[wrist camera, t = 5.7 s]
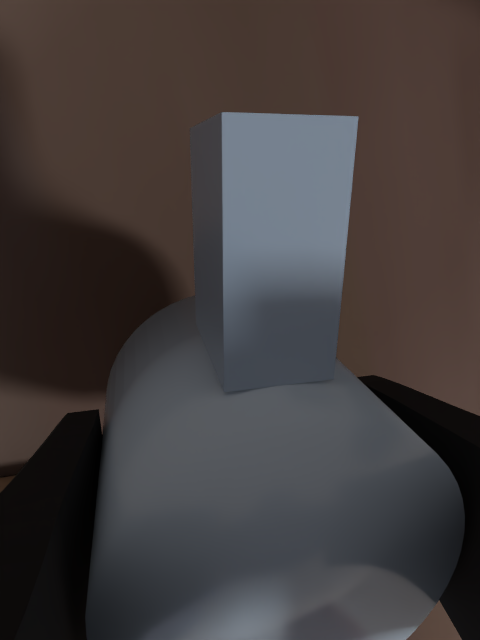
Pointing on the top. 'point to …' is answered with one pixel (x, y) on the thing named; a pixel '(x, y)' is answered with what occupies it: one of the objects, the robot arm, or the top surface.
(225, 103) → the top surface
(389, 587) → the grey round flask
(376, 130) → the top surface
